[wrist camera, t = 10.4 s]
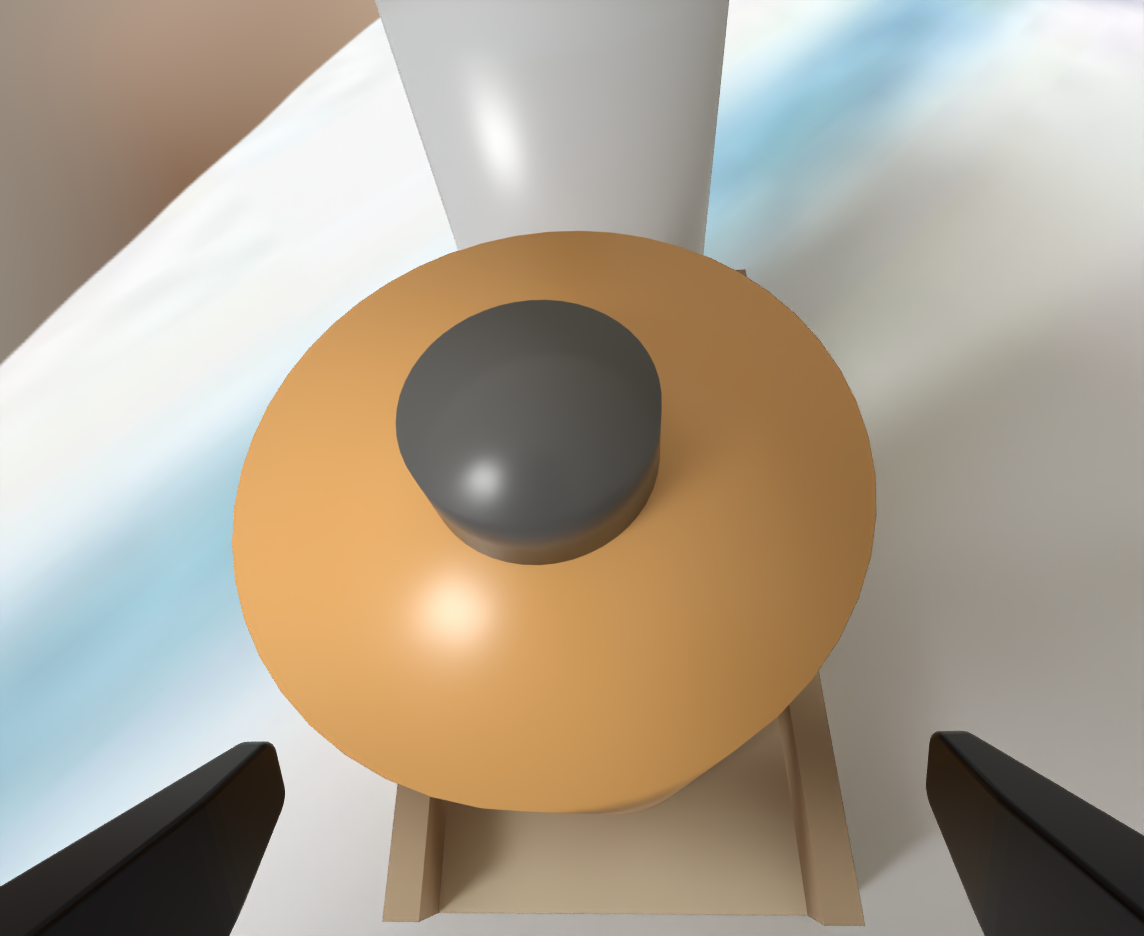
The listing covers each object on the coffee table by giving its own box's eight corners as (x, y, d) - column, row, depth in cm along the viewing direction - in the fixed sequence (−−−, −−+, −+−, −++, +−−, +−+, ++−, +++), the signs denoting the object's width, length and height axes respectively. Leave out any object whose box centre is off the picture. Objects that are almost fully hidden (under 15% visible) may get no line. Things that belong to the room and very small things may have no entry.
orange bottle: (659, 862, 15) (715, 1055, 3) (470, 740, 17) (17, 545, 5) (749, 655, 17) (1003, 265, 5) (573, 565, 19) (442, 111, 7)
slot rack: (833, 909, 15) (865, 925, 13) (418, 907, 16) (382, 921, 14) (736, 320, 24) (745, 269, 21) (469, 338, 25) (452, 292, 22)
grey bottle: (590, 528, 19) (495, 43, 7) (489, 415, 22) (288, -95, 9) (721, 426, 20) (830, -138, 8) (612, 329, 23) (573, -221, 11)
